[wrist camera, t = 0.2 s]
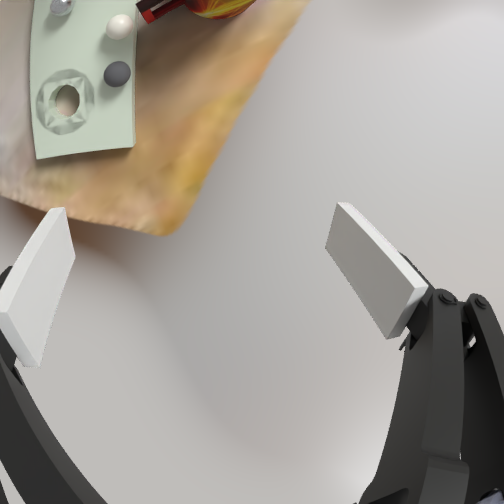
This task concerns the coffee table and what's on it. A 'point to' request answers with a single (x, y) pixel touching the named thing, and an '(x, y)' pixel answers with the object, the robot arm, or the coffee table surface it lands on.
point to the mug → (195, 8)
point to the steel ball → (61, 7)
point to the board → (81, 78)
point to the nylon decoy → (119, 27)
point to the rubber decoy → (117, 74)
